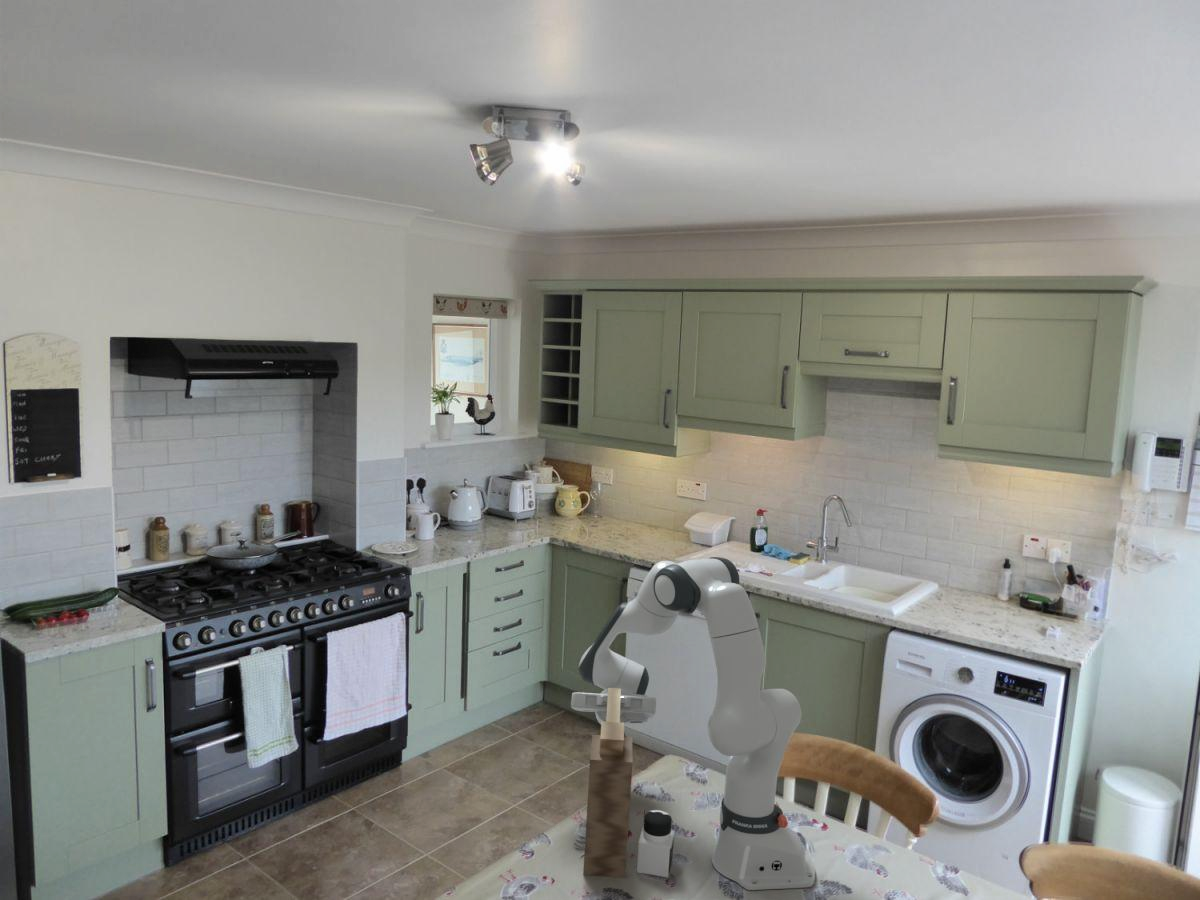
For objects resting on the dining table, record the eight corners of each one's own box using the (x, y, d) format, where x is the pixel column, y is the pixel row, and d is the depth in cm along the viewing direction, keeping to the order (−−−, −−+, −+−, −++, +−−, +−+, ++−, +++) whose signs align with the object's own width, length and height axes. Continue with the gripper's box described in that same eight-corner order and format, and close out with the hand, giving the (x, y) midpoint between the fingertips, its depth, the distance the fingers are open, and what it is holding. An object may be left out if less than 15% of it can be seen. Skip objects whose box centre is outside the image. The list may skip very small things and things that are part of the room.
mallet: (624, 699, 205) (625, 685, 204) (622, 755, 186) (623, 740, 185) (603, 698, 205) (604, 683, 204) (599, 754, 186) (600, 738, 185)
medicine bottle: (668, 878, 187) (672, 826, 186) (636, 872, 188) (639, 820, 187) (672, 859, 194) (676, 809, 193) (641, 854, 195) (644, 804, 194)
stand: (625, 846, 198) (632, 737, 195) (625, 877, 186) (632, 762, 183) (585, 843, 199) (592, 734, 196) (583, 874, 187) (590, 759, 184)
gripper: (571, 690, 215) (570, 682, 202) (654, 696, 215) (658, 688, 202) (569, 717, 213) (568, 710, 200) (653, 723, 212) (656, 716, 199)
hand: (614, 699), depth 201 cm, fingers closed on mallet, 3 cm apart
